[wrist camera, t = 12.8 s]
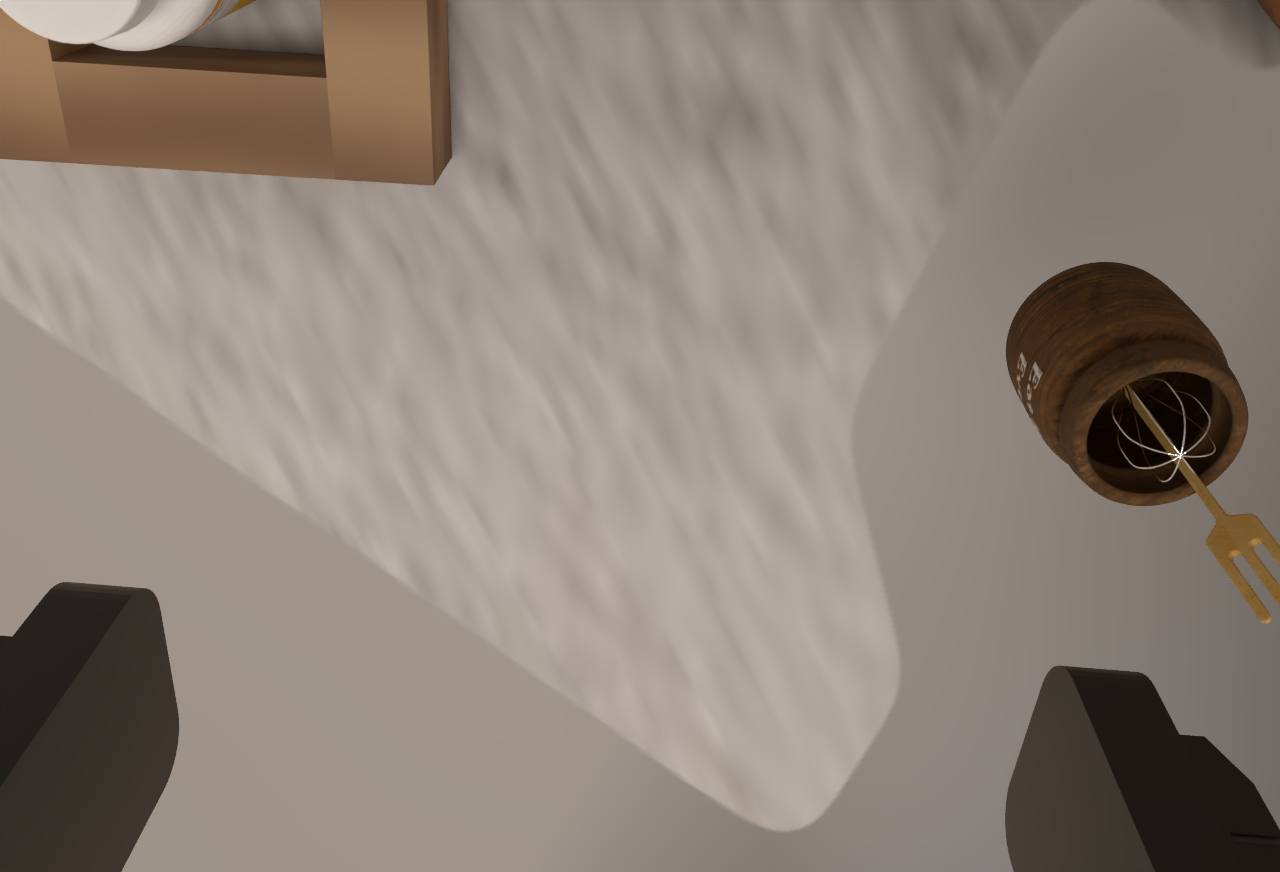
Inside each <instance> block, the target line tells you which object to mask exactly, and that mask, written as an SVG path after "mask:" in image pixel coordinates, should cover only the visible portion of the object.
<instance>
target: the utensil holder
mask: <svg viewBox="0 0 1280 872" xmlns="http://www.w3.org/2000/svg"><path fill="white" fill-rule="evenodd" d="M1006 359H1007V366H1008V371H1009V374H1010V378H1011V380H1012V383H1013V385H1014V388H1015V390H1016V392H1017V394H1018V396H1019V398H1020V400H1021V402H1022V404H1023V405H1024V407H1025V409H1026V411H1027V413H1028V414H1029V417H1030V418H1031V420H1032V422H1033V424H1034V425H1035V427H1036V429H1037V431H1038V432H1039V434H1040V435H1041V437H1042V438H1043V440H1044V441H1045V442H1046V444H1047V445H1048V446H1049V447H1050V449H1051V450H1052V451H1053V452H1054V453H1055V454H1056V455H1057V456H1059V457H1060V458H1061V459H1062V460H1063V461H1064V462H1066V463H1067V464H1069V466H1070V467H1071V469H1072V470H1073V471H1074V473H1075V474H1076V475H1077V476H1078V477H1079V478H1080V479H1081V480H1082V481H1083V482H1084V483H1085V484H1087V485H1088V486H1089V487H1090V488H1091V489H1092V490H1094V491H1095V492H1097V493H1098V494H1099V495H1101V496H1103V497H1105V498H1107V499H1110V500H1112V501H1115V502H1118V503H1122V504H1127V505H1134V506H1153V505H1161V504H1166V503H1170V502H1174V501H1177V500H1180V499H1183V498H1185V497H1188V496H1190V495H1192V494H1194V493H1197V494H1198V496H1199V497H1200V498H1201V500H1202V501H1203V502H1204V504H1205V505H1206V506H1207V508H1208V509H1209V511H1210V512H1211V513H1212V515H1213V516H1214V517H1215V519H1216V525H1215V527H1214V528H1213V530H1212V531H1211V533H1210V535H1209V536H1208V538H1207V539H1206V545H1207V546H1208V548H1209V549H1210V551H1211V552H1212V554H1213V555H1214V556H1215V558H1216V559H1217V560H1218V562H1219V563H1220V565H1221V566H1222V568H1223V569H1224V570H1225V572H1226V573H1227V575H1228V576H1229V578H1230V579H1231V580H1232V582H1233V583H1234V585H1235V586H1236V587H1237V589H1238V590H1239V591H1240V593H1241V595H1242V596H1243V597H1244V599H1245V600H1246V602H1247V603H1248V604H1249V606H1250V607H1251V608H1252V610H1253V611H1254V613H1255V614H1256V616H1257V617H1258V619H1259V620H1260V621H1261V622H1262V623H1265V624H1267V623H1269V622H1271V620H1272V616H1271V615H1270V613H1269V612H1268V610H1267V609H1266V608H1265V606H1264V605H1263V603H1262V602H1261V600H1260V599H1259V598H1258V596H1257V595H1256V593H1255V592H1254V591H1253V589H1252V588H1251V586H1250V585H1249V584H1248V582H1247V581H1246V580H1245V578H1244V577H1243V576H1242V574H1241V573H1240V571H1239V570H1238V568H1237V567H1236V566H1235V564H1234V563H1233V558H1234V557H1236V556H1238V555H1241V556H1243V557H1244V558H1245V560H1246V561H1247V562H1248V564H1249V565H1250V566H1251V568H1252V569H1253V571H1254V572H1255V573H1256V575H1257V576H1258V577H1259V579H1260V580H1261V582H1262V583H1263V584H1264V586H1265V587H1266V588H1267V590H1268V591H1269V592H1270V594H1271V595H1272V597H1273V598H1274V599H1275V601H1276V602H1277V603H1278V605H1279V606H1280V586H1279V584H1278V583H1277V582H1276V581H1275V579H1274V578H1273V576H1272V575H1271V574H1270V572H1269V571H1268V570H1267V568H1266V567H1265V565H1264V564H1263V563H1262V561H1261V560H1260V559H1259V557H1258V556H1257V555H1256V554H1255V552H1254V551H1253V548H1254V546H1255V545H1257V544H1264V546H1265V547H1266V548H1267V550H1268V551H1269V552H1270V553H1271V555H1272V556H1273V558H1274V559H1275V560H1276V562H1277V563H1278V564H1279V566H1280V546H1279V544H1278V543H1277V542H1276V541H1275V539H1274V538H1273V537H1272V535H1271V534H1270V533H1269V532H1268V530H1267V529H1266V528H1265V526H1264V525H1263V524H1262V522H1261V521H1260V520H1259V519H1258V517H1257V516H1255V515H1253V514H1242V515H1228V514H1226V513H1225V512H1224V510H1223V509H1222V508H1221V506H1220V505H1219V504H1218V502H1217V501H1216V500H1215V498H1214V497H1213V496H1212V494H1211V493H1210V492H1209V490H1208V489H1207V488H1206V486H1207V485H1209V484H1210V483H1212V482H1213V481H1214V480H1216V479H1217V478H1218V477H1219V476H1220V475H1221V474H1222V473H1223V472H1224V471H1225V470H1226V469H1227V468H1228V467H1229V466H1230V464H1231V463H1232V462H1233V460H1234V459H1235V457H1236V456H1237V454H1238V452H1239V451H1240V448H1241V447H1242V444H1243V442H1244V439H1245V436H1246V432H1247V427H1248V409H1247V403H1246V400H1245V397H1244V394H1243V392H1242V389H1241V387H1240V385H1239V383H1238V381H1237V379H1236V377H1235V375H1234V374H1233V372H1232V371H1231V370H1230V368H1229V367H1228V364H1227V360H1226V358H1225V355H1224V353H1223V350H1222V348H1221V346H1220V345H1219V343H1218V341H1217V340H1216V338H1215V337H1214V336H1213V334H1212V333H1211V331H1210V330H1209V329H1208V328H1207V327H1206V325H1205V324H1204V323H1203V322H1202V321H1201V320H1200V319H1199V318H1198V316H1197V315H1196V314H1195V313H1194V312H1193V311H1192V310H1191V309H1190V308H1189V307H1188V306H1187V305H1186V304H1185V303H1184V302H1183V301H1182V300H1181V299H1180V298H1179V297H1178V296H1177V295H1176V294H1175V293H1174V292H1173V291H1172V290H1171V289H1170V288H1169V287H1168V286H1167V285H1165V284H1164V283H1163V282H1162V281H1160V280H1159V279H1158V278H1156V277H1154V276H1153V275H1151V274H1149V273H1148V272H1146V271H1144V270H1142V269H1139V268H1137V267H1134V266H1130V265H1126V264H1122V263H1113V262H1098V263H1089V264H1084V265H1080V266H1076V267H1074V268H1070V269H1068V270H1065V271H1063V272H1061V273H1059V274H1057V275H1055V276H1053V277H1052V278H1050V279H1049V280H1047V281H1046V282H1044V283H1043V284H1042V285H1040V286H1039V287H1038V288H1037V289H1036V290H1035V291H1034V292H1032V294H1031V295H1029V297H1028V298H1027V299H1026V300H1025V301H1024V303H1023V304H1022V305H1021V307H1020V308H1019V310H1018V312H1017V313H1016V315H1015V317H1014V319H1013V321H1012V324H1011V327H1010V329H1009V333H1008V337H1007V344H1006Z"/></svg>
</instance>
